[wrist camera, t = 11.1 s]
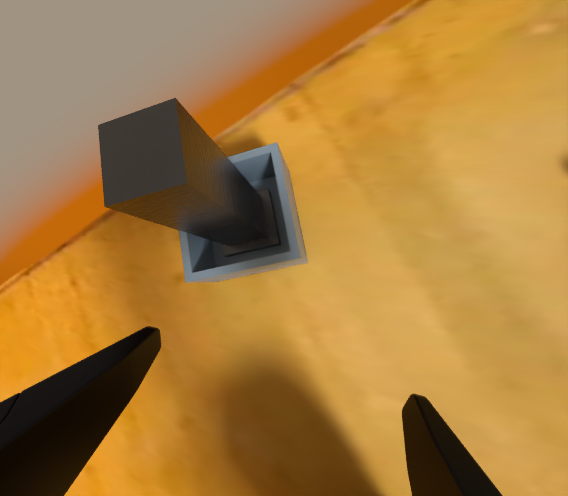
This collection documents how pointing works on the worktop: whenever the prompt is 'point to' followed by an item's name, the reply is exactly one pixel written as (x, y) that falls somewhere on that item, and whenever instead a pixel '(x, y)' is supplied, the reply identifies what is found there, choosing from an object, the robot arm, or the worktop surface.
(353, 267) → the worktop surface
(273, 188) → the box
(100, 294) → the worktop surface
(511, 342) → the worktop surface
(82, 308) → the worktop surface
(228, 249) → the dark square pedestal
